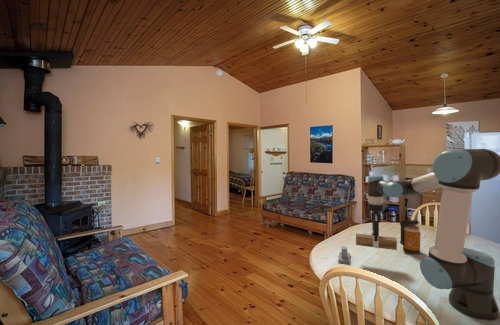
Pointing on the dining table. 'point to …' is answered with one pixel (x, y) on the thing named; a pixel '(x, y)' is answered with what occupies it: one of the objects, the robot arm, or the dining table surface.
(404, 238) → the canister
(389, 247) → the walnut bar
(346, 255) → the fulcrum
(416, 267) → the dining table surface
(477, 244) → the dining table surface
